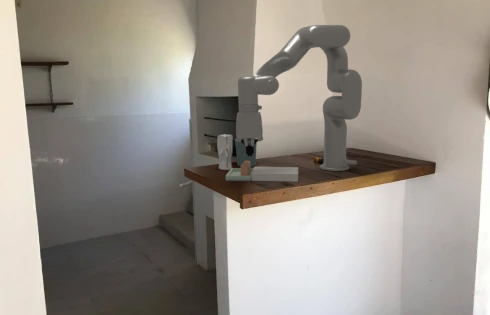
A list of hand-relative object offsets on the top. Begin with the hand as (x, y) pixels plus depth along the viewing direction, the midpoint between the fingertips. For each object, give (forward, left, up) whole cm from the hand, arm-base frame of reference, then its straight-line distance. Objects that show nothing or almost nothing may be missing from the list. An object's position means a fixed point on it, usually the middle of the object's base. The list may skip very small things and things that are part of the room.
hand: (250, 155), depth 166 cm
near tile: (+1, 0, -6) cm, 6 cm away
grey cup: (+5, -29, -10) cm, 31 cm away
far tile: (+1, -6, -6) cm, 9 cm away
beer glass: (+13, -19, -9) cm, 25 cm away
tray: (+4, -3, -9) cm, 11 cm away
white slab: (-10, -3, -9) cm, 14 cm away
